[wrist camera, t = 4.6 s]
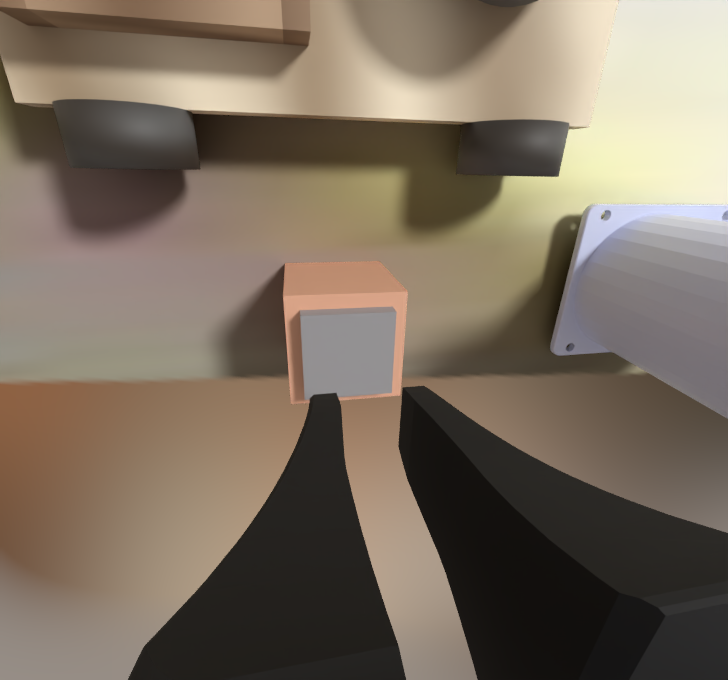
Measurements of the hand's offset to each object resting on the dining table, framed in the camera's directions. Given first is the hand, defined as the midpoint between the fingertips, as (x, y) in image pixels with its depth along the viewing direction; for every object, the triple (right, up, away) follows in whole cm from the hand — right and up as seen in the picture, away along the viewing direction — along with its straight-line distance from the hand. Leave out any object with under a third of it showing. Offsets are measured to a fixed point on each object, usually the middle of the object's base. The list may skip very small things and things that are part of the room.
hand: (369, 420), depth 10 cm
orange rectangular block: (-2, +4, +8) cm, 10 cm away
